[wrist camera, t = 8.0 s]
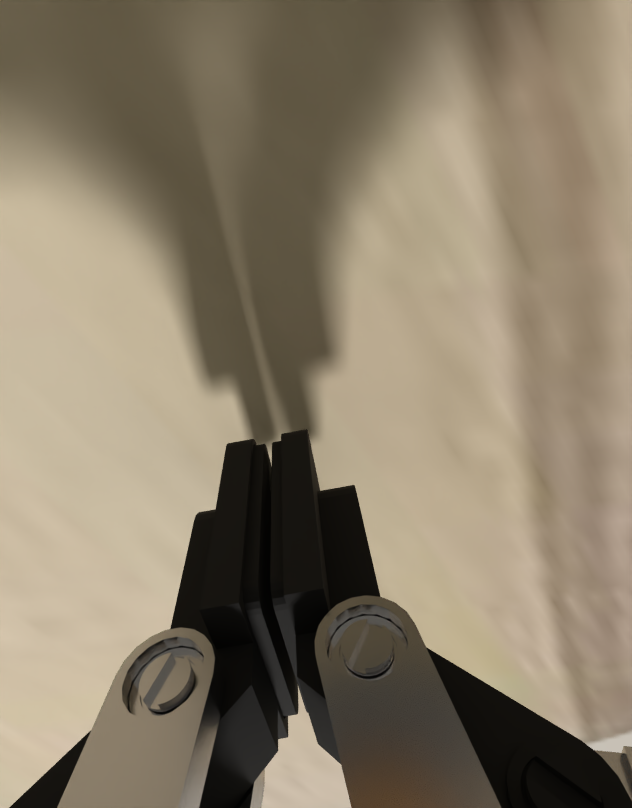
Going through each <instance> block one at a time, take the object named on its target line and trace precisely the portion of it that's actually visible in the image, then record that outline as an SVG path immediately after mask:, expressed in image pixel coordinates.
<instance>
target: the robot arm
mask: <svg viewBox="0 0 632 808" xmlns="http://www.w3.org/2000/svg"><path fill="white" fill-rule="evenodd" d="M298 686H299V690H300V693H301V696H302V699H303V702H304V705H305V709H306V711H307V712H308V713H309V716H310V719H311V723H312V726H313V729H314V732H315V735H316V738H317V742H318V744H319V745H320V746H321V747H322V748H323V749H324V750H326V751H327V752H328V753H329V754H330V755H331V756H332V757H333V758H335V759H336V760H337V761H338V762H339V763H340V764H341V765H342V769H343V773H344V778H345V782H346V786H347V790H348V794H349V799H350V803H351V807H352V808H632V747H627V746H624V747H623V750H622V753H616V752H604V751H595V750H593V749H591V748H590V747H589V746H587V745H586V744H585V743H583V742H582V741H581V740H579V739H578V738H576V737H574V736H573V735H571V734H569V733H568V732H566V731H564V730H563V729H561V728H559V727H558V726H556V725H554V724H553V723H551V722H549V721H548V720H546V719H544V718H543V717H541V716H539V715H538V714H536V713H534V712H533V711H531V710H529V709H528V708H526V707H524V706H523V705H521V704H519V703H518V702H516V701H514V700H513V699H511V698H509V697H508V696H506V695H504V694H503V693H501V692H499V691H498V690H496V689H494V688H493V687H491V686H490V685H488V684H486V683H485V682H483V681H481V680H480V679H478V678H476V677H475V676H473V675H471V674H470V673H468V672H466V671H465V670H463V669H461V668H460V667H458V666H456V665H455V664H453V663H451V662H450V661H448V660H446V659H445V658H443V657H441V656H440V655H438V654H436V653H435V652H433V651H431V650H430V649H428V648H426V646H425V644H424V642H423V640H422V638H421V635H420V633H419V631H418V629H417V627H416V625H415V623H414V622H413V620H412V619H411V617H410V616H409V614H408V613H407V612H406V611H405V610H404V609H403V608H401V607H400V606H399V605H398V604H396V603H395V602H393V601H390V600H388V599H385V598H382V597H380V593H379V589H378V585H377V580H376V576H375V572H374V567H373V563H372V558H371V554H370V550H369V545H368V541H367V537H366V532H365V528H364V524H363V519H362V515H361V511H360V506H359V502H358V497H357V493H356V489H355V486H354V485H351V486H346V487H340V488H334V489H329V490H323V491H320V488H319V483H318V478H317V473H316V468H315V463H314V458H313V454H312V449H311V444H310V439H309V434H308V430H307V429H306V430H300V431H295V432H289V433H284V434H281V441H278V442H273V443H272V466H271V463H270V459H269V455H268V451H267V448H266V445H265V444H261V445H256V442H255V440H254V439H250V440H245V441H239V442H233V443H228V444H227V446H226V451H225V457H224V463H223V469H222V475H221V481H220V487H219V493H218V499H217V505H216V510H210V511H204V512H199V513H198V514H197V515H196V517H195V520H194V524H193V529H192V533H191V538H190V542H189V547H188V551H187V556H186V561H185V565H184V570H183V574H182V579H181V583H180V588H179V592H178V597H177V602H176V606H175V611H174V615H173V620H172V624H171V629H169V630H165V631H162V632H160V633H158V634H156V635H154V636H151V637H150V638H148V639H147V640H146V641H144V642H143V643H142V644H140V645H139V646H137V647H136V648H135V649H134V651H133V652H132V653H131V654H130V655H129V656H128V657H127V658H126V659H125V660H124V662H123V664H122V665H121V667H120V669H119V671H118V672H117V674H116V676H115V678H114V680H113V682H112V685H111V687H110V689H109V692H108V694H107V696H106V698H105V701H104V703H103V705H102V707H101V710H100V712H99V714H98V716H97V719H96V721H95V723H94V725H93V728H92V730H91V731H90V732H89V733H88V734H87V735H86V736H85V737H83V738H82V739H81V740H80V741H79V742H78V743H77V744H76V745H75V746H74V747H73V748H72V749H71V750H70V751H69V752H68V753H67V754H66V755H64V756H63V757H62V758H61V759H60V760H59V761H58V762H57V763H56V764H55V765H54V766H53V767H52V768H51V769H50V770H49V771H48V772H47V773H45V774H44V775H43V776H42V777H41V778H40V779H39V780H38V781H37V782H36V783H35V784H34V785H33V786H32V787H31V788H30V789H29V790H28V791H26V792H25V793H24V794H23V795H22V796H21V797H20V798H19V799H18V800H17V801H16V802H15V803H14V804H13V805H12V806H11V807H10V808H261V806H262V799H263V792H264V780H265V769H264V768H265V767H266V766H267V765H268V763H269V762H270V761H271V759H272V758H273V757H274V755H275V754H276V753H277V751H278V739H281V738H286V737H288V716H290V715H295V714H298Z"/></svg>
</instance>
